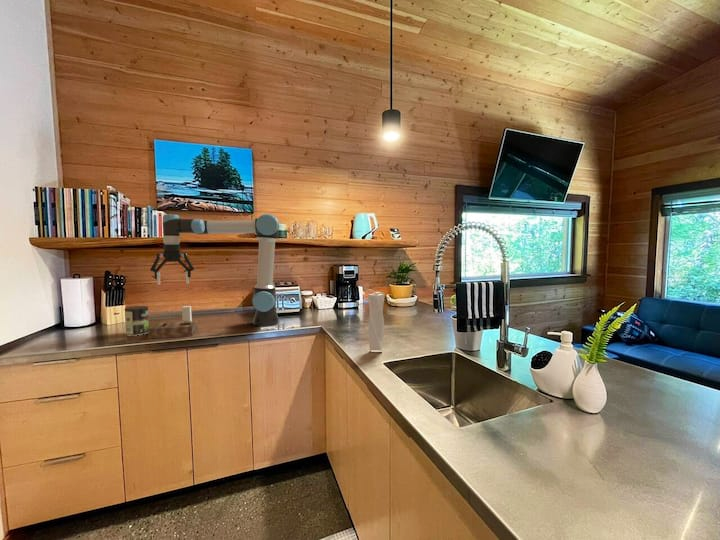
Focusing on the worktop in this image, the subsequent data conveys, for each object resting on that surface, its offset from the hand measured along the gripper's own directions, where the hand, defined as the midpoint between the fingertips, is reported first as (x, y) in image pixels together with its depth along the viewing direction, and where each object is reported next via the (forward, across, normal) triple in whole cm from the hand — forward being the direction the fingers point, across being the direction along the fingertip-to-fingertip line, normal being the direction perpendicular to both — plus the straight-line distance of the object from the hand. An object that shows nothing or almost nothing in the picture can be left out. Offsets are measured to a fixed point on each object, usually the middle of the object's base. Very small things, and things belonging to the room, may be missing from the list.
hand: (173, 284), depth 170 cm
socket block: (+26, 0, +2) cm, 27 cm away
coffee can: (+27, +19, -4) cm, 33 cm away
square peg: (+27, -3, -13) cm, 30 cm away
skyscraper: (+27, -94, +58) cm, 114 cm away
